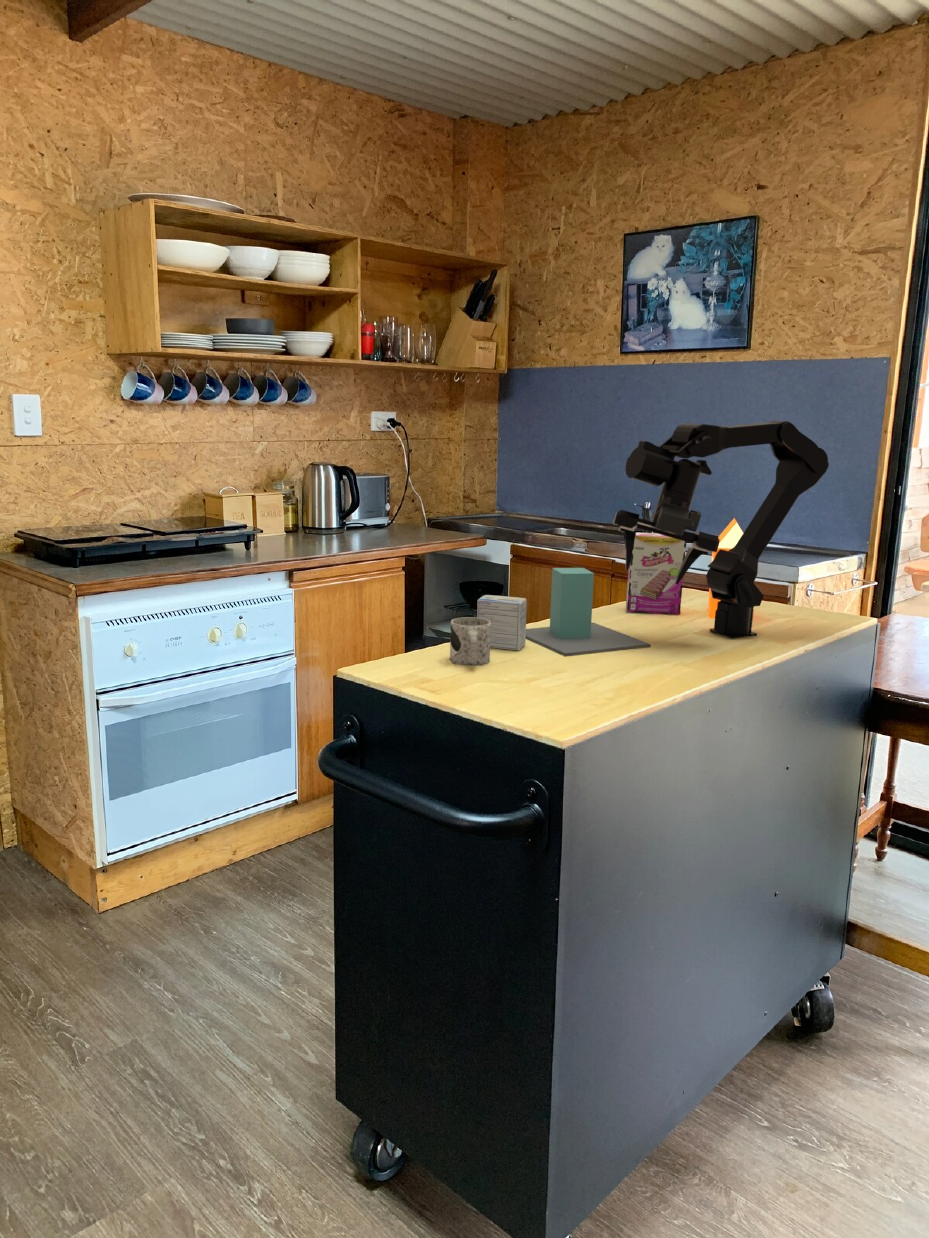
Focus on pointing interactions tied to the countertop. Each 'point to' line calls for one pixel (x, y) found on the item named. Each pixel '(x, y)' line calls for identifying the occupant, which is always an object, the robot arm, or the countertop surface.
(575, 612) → the teal block
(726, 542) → the orange juice
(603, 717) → the countertop surface
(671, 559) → the candy bar box
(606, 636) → the charcoal mat
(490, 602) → the medicine box
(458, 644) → the mug
